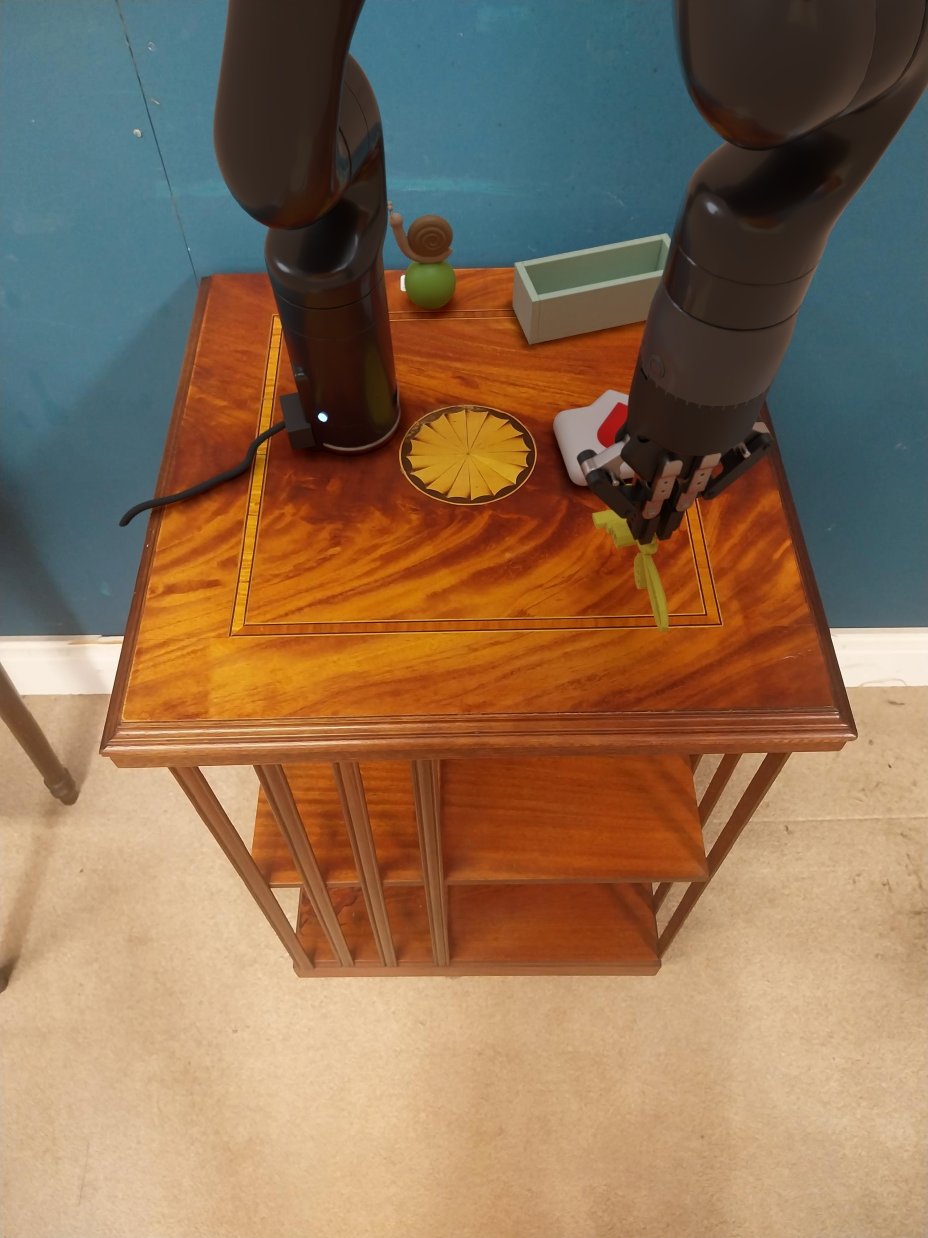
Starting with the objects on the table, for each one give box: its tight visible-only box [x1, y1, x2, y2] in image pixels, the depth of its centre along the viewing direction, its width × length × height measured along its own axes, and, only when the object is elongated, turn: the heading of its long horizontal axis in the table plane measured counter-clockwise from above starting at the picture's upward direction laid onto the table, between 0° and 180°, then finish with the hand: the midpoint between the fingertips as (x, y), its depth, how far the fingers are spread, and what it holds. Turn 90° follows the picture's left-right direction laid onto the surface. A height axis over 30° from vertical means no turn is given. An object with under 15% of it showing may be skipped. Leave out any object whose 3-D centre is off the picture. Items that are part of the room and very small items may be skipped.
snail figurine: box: [387, 200, 457, 311], centre depth 86 cm, size 5×6×12 cm
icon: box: [552, 389, 634, 487], centre depth 80 cm, size 12×4×10 cm
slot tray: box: [512, 233, 671, 345], centre depth 88 cm, size 17×6×6 cm, turn 105°
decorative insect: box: [591, 483, 670, 633], centre depth 65 cm, size 13×3×10 cm
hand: (649, 532), depth 62 cm, fingers closed on decorative insect, 1 cm apart
